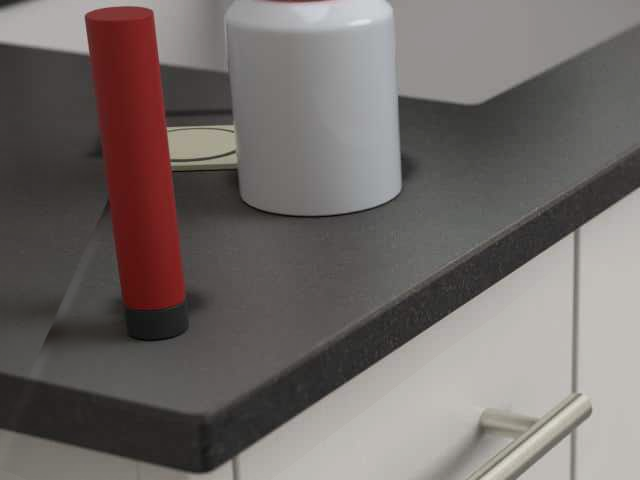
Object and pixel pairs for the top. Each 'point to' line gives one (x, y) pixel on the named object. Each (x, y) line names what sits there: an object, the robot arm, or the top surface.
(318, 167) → the pill bottle
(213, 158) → the coaster
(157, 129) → the marker
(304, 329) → the top surface
